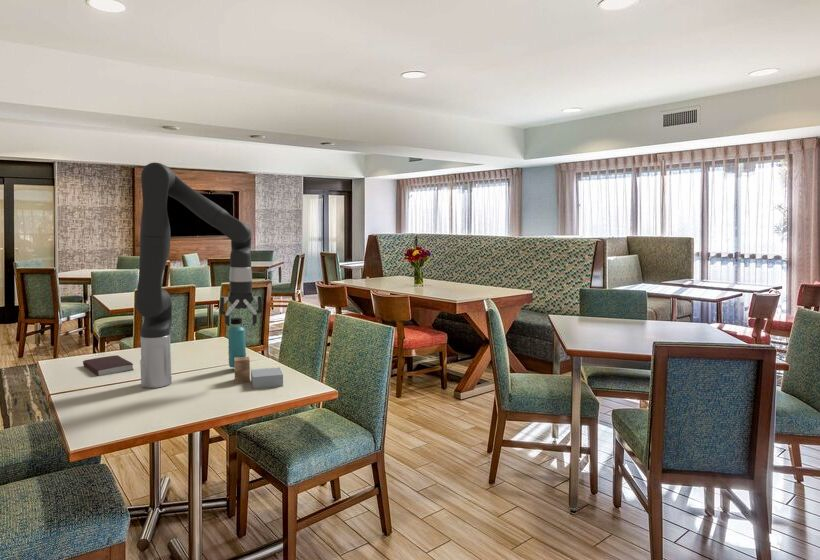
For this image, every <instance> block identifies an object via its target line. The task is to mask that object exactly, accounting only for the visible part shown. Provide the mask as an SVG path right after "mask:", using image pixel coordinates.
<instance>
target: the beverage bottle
mask: <svg viewBox="0 0 820 560" xmlns="http://www.w3.org/2000/svg"><path fill="white" fill-rule="evenodd" d="M242 324H243V320H242V317H232V318H231V319H230V325H234V326H229V327H230V328H228V329H227V332H228V333H227V334H228V335H227V336H228V337H227V339H228V340H227V341H228V347H227V348H228V353H227V354H228V366H229V367H230V368H232V369H234V358H236V357H247V351H246V350H247V348H246V347H247V346H246V344H247V343H246V328H245V327H243V326H241V325H242Z"/></svg>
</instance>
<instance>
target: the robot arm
mask: <svg viewBox="0 0 820 560" xmlns="http://www.w3.org/2000/svg"><path fill="white" fill-rule="evenodd" d="M140 180H141V182H140V183H141V190H142V191H141V192H142V193H141V194H142V195H141V196H142V209H141V211H142V212H141V218H140V231H139V232H140V234H139V258H138V259H139V262H138V263H139V265H138V268H139V272H138V281H137V289H136V292H135V293H136V295H135V303H134V304H135V308H136V311H137V313H138V314H139V315H140V316H142V317H143V318H144V319H143V323H142V325H141V326H140V329H139V331H140V332H139V334H140V335H139V336H140V337H139V338H140V339H139V340H140V357H141V358H140V361H139V363H140V365H139V366H140V383H141V384H140V386H141V388H148V389H152V388H155V389H156V388H162V387H167V386H169V385H171V384H172V355H171V354H172V353H171V349H172V348H171V327H172V322H173V314H172V313H173V310H172V309H173V306H172V304H173V303H172V298H171V295H170V294H169V292H168V291H167V290H165V289H163V288H162V281H163V273H164V271H165V268H166V265H167V262H168V259H169V255H170V251H171V226H170V225H171V224H170V219H169V214H168V197H171V198H173V199H174V200H176V201H178V202H179V203H180V204H181V205H183V206H184V207H186V208H187V209H188V210H190V212H192V213H193V214H195V215H196V216H197V217H198V218H200V219H201V220H203V221H204V222H205V223H207V224H208V225H209V226H211V227H213V228H215V229H217V230H218V231H219V232H221V233H222V234H223V235H224V236H226V237H227V238H228V239H230V244H231V245H230V246H231V247H230V248H231V249H230V250H231V251H230V256H229V277H228V279H229V296H223V295H221V296H220V299H219V314H220V315H223V316H224V320H225V321H224V323H225V325H227V327H231V326H230V325H231V323H230V314H231V313H232V311H233V310H234V309H235V310H239V309H243V310H244V309H245V310H246V309H247V308H248V309H249V311H251V313H252V315H251V317H252V319H251V321H252V324H251V325H252V326H255V325H256V324H257V323H258V320H257V319H258V315H259V314H262V313H263V304H262V303H263V302H262V296H261V295H256V296H253V271H252V254H251V253H252V252H251V249H252V248H251V247H252V229H251V227H250V226H249V225H248V224H246V223H245V222H242V221H241V220H239V219H238V218H236V217H234V216H233V215H231V214H230V213H229V212H228V211H227V210H226V209H225V208H223V207H221V206H220V205H219V204H217V203H216V202H214V201H212V200H211V199H209V198H208V197H206V196H204V195H203V194H201V193H200V192H199V191H196V190H195V189H193V188H192V187H191V186H189V185H188V184H187V183H185V182H184V181H183V180H182V179H181V178H180V177H179V176H178V175H177V174H175V172H173V170H172V169H171V168H170V167H169V166H167V165H166V164H162V163H161V162H154V161H153V162H150V163H148V164H146V165H145V166H144V167H143V169H142V170H141V174H140ZM254 300H255V302H256V303H257V309H255V308H254V306H253V305H252V302H254ZM227 301H228V302H229V303H230V305H229V307H228V308H227V309H226V310H225V309H224V308H225V305H224V304H226V303H227Z"/></svg>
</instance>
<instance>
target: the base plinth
mask: <svg viewBox="0 0 820 560" xmlns="http://www.w3.org/2000/svg"><path fill="white" fill-rule="evenodd" d="M250 383H251V385H252V389H264V388H275V387H283V386H284V374H283V372H282V370H281V367H268V368H256V369H253V368H252V369H250Z"/></svg>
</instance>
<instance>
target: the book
mask: <svg viewBox="0 0 820 560" xmlns="http://www.w3.org/2000/svg"><path fill="white" fill-rule="evenodd" d="M82 365H83V367H84V368H86V369H87V370H88V371H90V372H91V373H93V374H94V375H95V376H97V377H101V376H105V375H106V376H107V375H115V374H119V373H125V372H131V371H135V370H134V368H133V367H134V364H133V363H132V361H129V360H126V359H125V358H123V357H122V356H120V355H110V356H109V355H108V356H101V357H95V358H91V359H85V360H83V361H82Z"/></svg>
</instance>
